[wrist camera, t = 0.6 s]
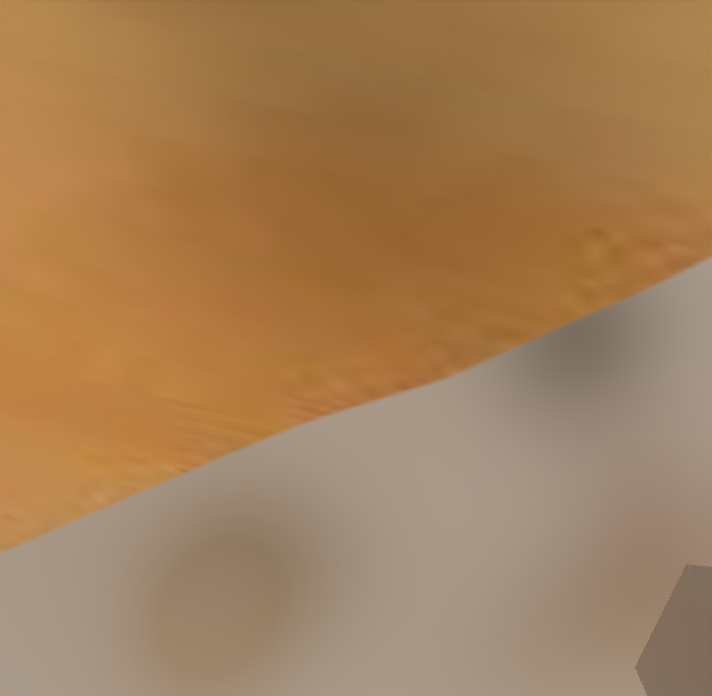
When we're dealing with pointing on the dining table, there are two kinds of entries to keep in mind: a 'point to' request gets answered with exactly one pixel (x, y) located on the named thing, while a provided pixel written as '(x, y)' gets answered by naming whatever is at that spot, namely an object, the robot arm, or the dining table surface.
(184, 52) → the dining table surface
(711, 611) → the robot arm
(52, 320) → the dining table surface
